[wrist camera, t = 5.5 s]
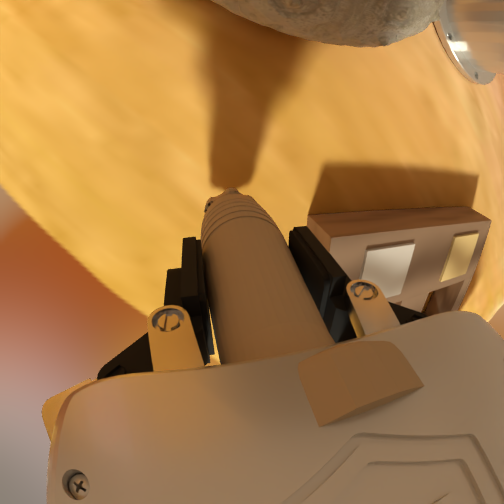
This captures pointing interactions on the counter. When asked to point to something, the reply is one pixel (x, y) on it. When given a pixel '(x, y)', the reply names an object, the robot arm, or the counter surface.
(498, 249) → the counter surface
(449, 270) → the socket block
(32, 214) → the counter surface
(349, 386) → the handle
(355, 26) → the grey flattened rounded lump
